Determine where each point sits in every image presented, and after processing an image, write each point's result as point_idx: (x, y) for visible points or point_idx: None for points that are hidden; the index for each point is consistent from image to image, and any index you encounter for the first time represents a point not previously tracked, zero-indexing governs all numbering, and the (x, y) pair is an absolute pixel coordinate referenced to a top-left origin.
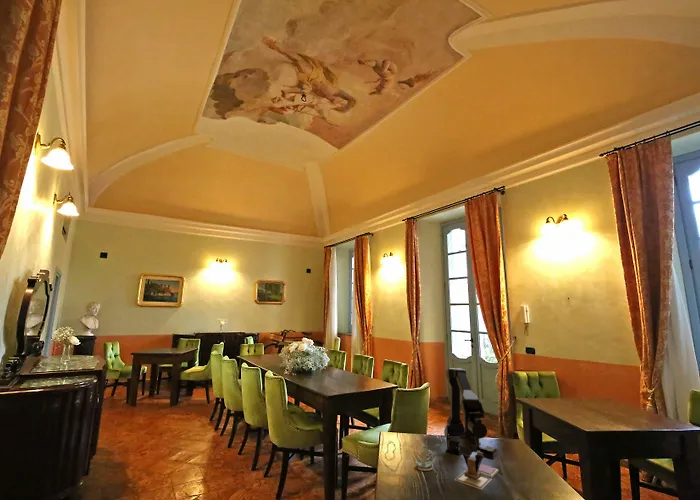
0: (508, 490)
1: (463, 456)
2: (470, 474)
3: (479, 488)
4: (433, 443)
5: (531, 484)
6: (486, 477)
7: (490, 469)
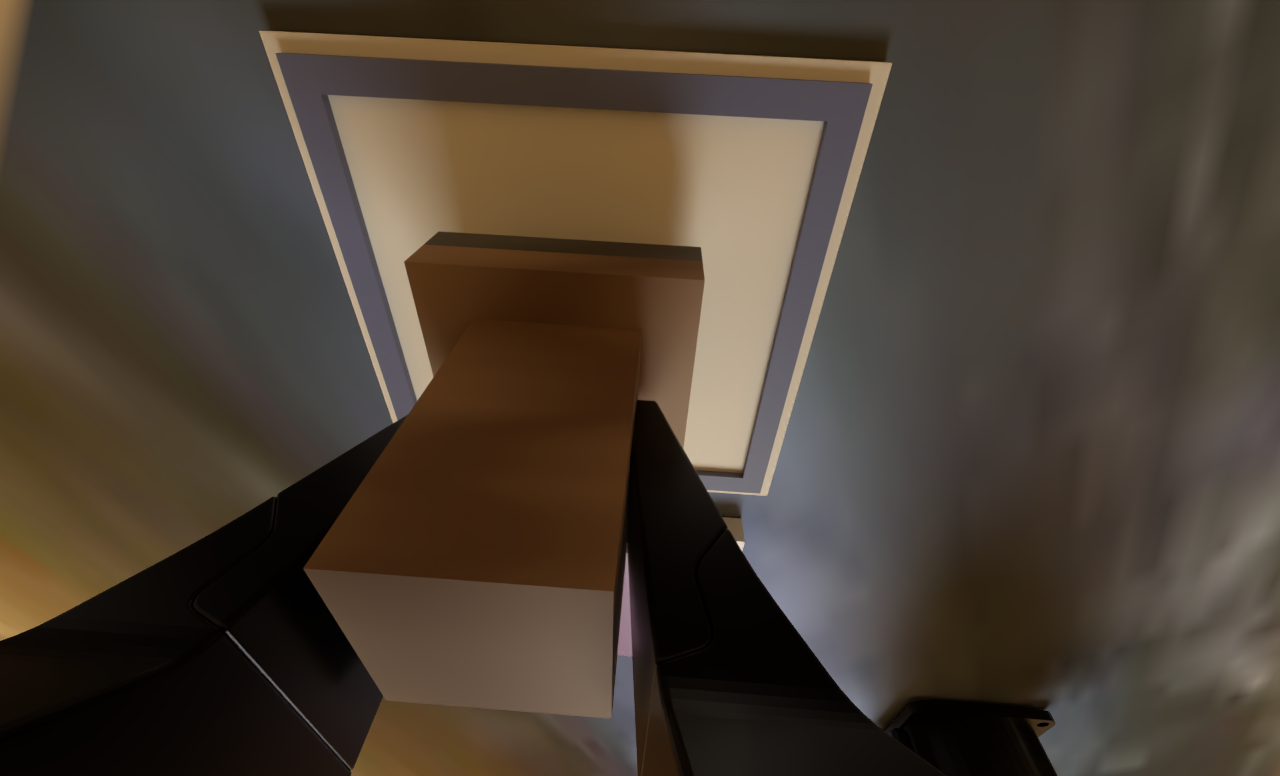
0: (90, 331)
1: (800, 651)
2: (553, 266)
3: (311, 35)
4: (1170, 763)
5: (140, 568)
6: None
7: None
